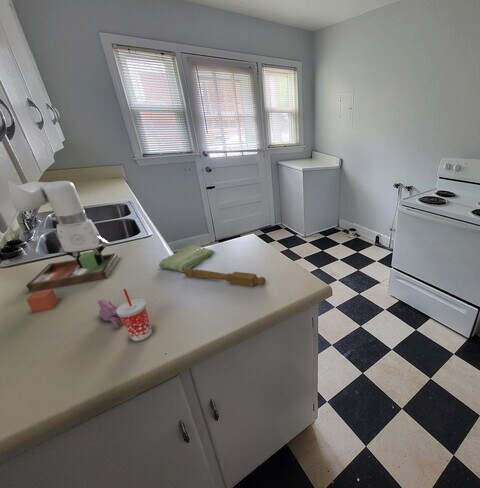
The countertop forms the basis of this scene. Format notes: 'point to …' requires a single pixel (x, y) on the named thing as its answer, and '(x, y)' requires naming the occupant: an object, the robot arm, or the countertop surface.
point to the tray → (71, 273)
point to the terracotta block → (42, 300)
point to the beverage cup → (135, 318)
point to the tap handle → (228, 277)
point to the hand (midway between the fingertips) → (92, 264)
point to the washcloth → (186, 258)
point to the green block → (88, 260)
